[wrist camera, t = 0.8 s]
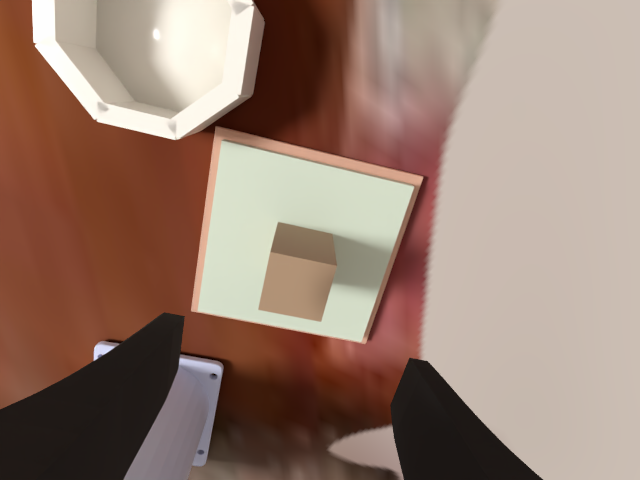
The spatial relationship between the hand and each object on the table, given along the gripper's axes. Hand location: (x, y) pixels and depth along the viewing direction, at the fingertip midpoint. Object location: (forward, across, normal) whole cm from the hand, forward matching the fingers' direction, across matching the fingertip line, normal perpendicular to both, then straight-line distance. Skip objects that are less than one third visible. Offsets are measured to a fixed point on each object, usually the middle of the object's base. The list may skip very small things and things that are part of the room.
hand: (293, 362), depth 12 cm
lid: (+10, 0, 0) cm, 10 cm away
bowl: (+10, +8, -9) cm, 16 cm away
